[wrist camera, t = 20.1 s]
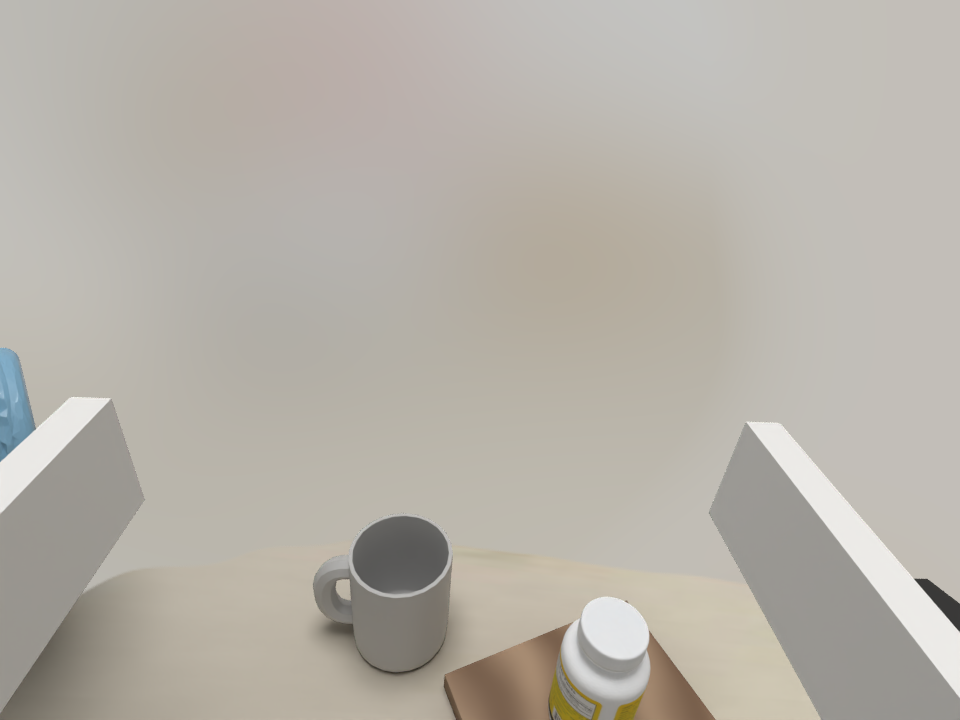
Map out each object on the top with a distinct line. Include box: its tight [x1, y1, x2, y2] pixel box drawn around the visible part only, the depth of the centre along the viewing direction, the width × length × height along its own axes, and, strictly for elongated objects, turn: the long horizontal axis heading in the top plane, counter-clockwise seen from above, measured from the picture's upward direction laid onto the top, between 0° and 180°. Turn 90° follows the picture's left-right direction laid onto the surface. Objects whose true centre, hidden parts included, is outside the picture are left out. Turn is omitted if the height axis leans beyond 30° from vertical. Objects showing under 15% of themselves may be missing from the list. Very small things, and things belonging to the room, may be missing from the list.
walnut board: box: [444, 601, 715, 720], centre depth 37 cm, size 16×12×2 cm
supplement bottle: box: [548, 597, 650, 720], centre depth 34 cm, size 5×5×10 cm
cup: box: [313, 513, 453, 672], centre depth 40 cm, size 7×10×9 cm
